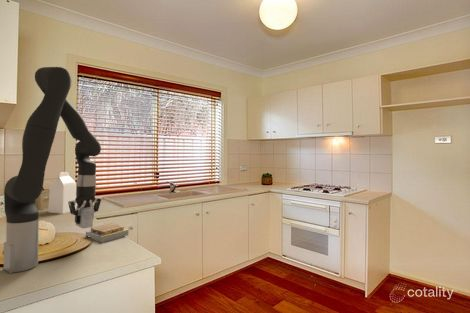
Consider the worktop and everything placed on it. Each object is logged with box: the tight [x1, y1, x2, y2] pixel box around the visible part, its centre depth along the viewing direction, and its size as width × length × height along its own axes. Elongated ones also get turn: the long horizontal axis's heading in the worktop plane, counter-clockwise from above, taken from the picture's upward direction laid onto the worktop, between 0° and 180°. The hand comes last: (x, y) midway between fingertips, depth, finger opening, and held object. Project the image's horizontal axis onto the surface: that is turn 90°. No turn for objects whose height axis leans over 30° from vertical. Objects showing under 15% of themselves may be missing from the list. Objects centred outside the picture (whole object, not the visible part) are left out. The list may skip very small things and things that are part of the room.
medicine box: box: [75, 207, 94, 229], centre depth 120 cm, size 8×4×9 cm, turn 49°
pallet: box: [90, 222, 125, 236], centre depth 134 cm, size 11×11×2 cm
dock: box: [85, 228, 130, 243], centre depth 134 cm, size 14×14×3 cm
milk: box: [47, 171, 77, 215], centre depth 179 cm, size 12×12×26 cm
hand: (84, 222), depth 120 cm, fingers closed on medicine box, 5 cm apart
